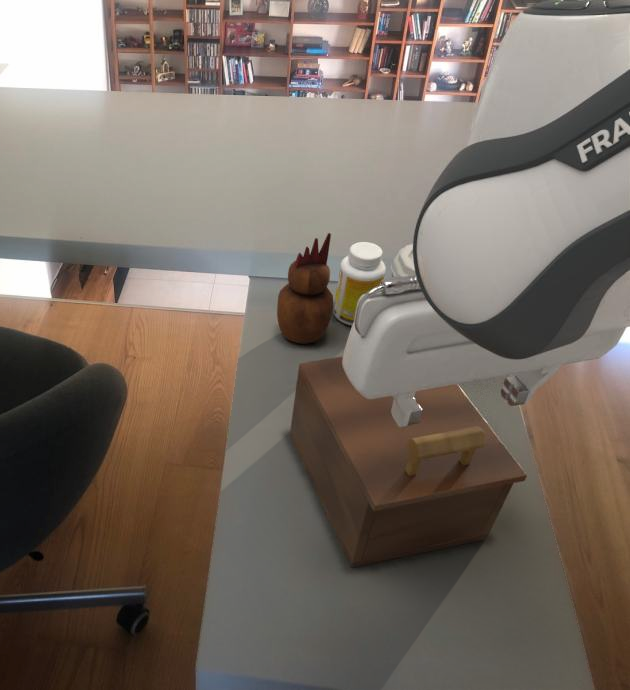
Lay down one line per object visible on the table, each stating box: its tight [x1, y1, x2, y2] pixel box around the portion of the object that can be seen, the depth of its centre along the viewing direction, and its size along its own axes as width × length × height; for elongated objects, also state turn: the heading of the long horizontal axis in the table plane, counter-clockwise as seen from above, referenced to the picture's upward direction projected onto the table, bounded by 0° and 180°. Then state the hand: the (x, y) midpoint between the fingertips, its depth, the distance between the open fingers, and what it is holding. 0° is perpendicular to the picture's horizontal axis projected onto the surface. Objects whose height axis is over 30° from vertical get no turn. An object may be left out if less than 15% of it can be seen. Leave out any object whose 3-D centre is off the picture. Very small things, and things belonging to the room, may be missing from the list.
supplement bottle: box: [333, 241, 386, 327], centre depth 89 cm, size 6×6×10 cm
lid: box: [298, 355, 528, 511], centre depth 63 cm, size 18×14×5 cm
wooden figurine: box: [276, 232, 334, 345], centre depth 84 cm, size 7×6×15 cm
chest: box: [289, 369, 514, 568], centre depth 68 cm, size 17×14×10 cm
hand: (459, 409), depth 54 cm, fingers open, 8 cm apart
